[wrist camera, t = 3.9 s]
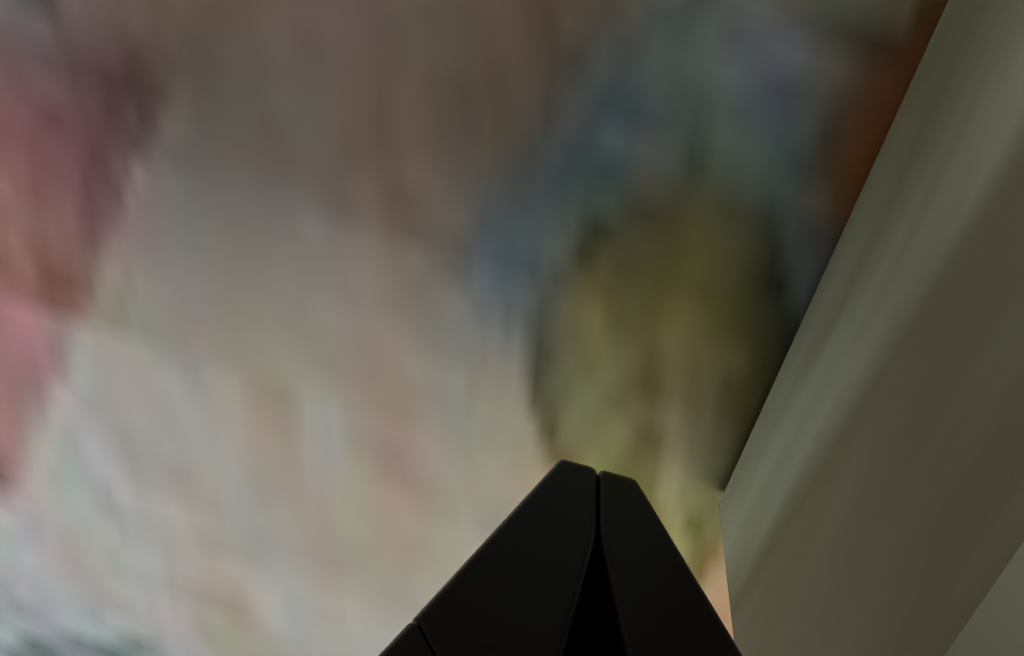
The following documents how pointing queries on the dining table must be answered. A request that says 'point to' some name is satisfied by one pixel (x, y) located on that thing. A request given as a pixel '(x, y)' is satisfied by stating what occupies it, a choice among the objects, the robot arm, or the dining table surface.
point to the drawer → (903, 391)
